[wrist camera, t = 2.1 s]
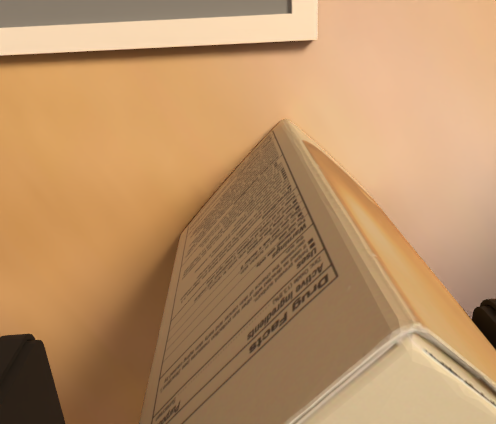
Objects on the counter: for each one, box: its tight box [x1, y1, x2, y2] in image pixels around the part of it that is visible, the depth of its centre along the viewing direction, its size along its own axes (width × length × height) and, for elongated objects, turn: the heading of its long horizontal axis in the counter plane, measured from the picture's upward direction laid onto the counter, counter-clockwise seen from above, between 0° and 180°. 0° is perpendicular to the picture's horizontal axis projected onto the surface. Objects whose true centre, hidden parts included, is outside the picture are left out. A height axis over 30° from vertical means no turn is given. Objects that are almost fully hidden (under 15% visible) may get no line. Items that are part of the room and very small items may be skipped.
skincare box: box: [139, 119, 496, 424], centre depth 12 cm, size 6×4×12 cm
